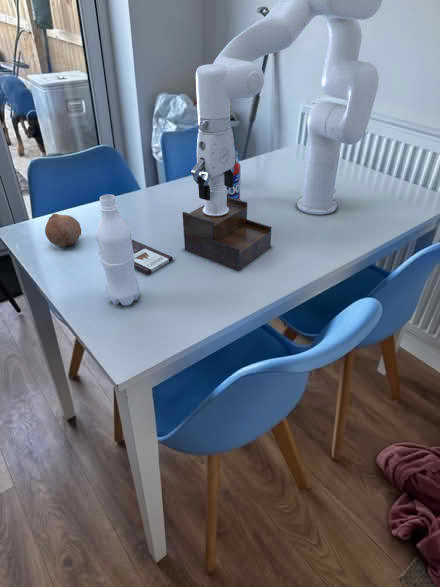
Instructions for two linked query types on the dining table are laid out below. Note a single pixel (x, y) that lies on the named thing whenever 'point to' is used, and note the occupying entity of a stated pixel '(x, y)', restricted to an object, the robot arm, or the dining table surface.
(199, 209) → the spice shelf
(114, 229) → the water bottle
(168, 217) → the dining table surface
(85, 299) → the dining table surface
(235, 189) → the soda can
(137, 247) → the chocolate bar
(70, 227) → the brown coconut
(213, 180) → the downlight
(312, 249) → the dining table surface
